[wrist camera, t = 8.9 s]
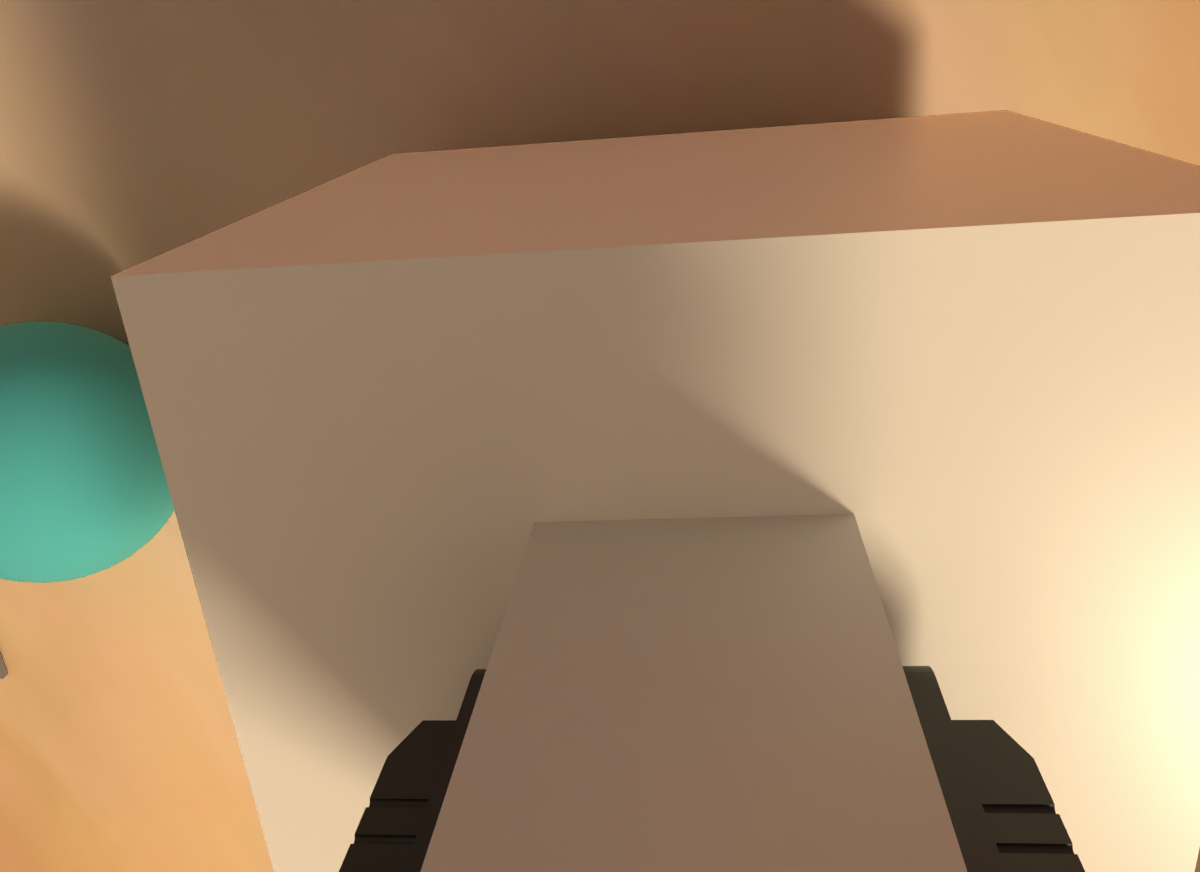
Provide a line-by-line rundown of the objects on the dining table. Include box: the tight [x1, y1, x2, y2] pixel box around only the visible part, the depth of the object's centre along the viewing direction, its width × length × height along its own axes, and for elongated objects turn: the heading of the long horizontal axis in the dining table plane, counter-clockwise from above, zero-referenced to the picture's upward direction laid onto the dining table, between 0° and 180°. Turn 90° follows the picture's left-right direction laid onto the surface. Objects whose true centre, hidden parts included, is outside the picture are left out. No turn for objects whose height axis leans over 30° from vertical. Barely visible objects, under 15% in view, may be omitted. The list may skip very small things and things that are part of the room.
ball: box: [0, 321, 175, 583], centre depth 19 cm, size 5×5×5 cm
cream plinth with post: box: [111, 110, 1200, 872], centre depth 12 cm, size 10×10×14 cm
